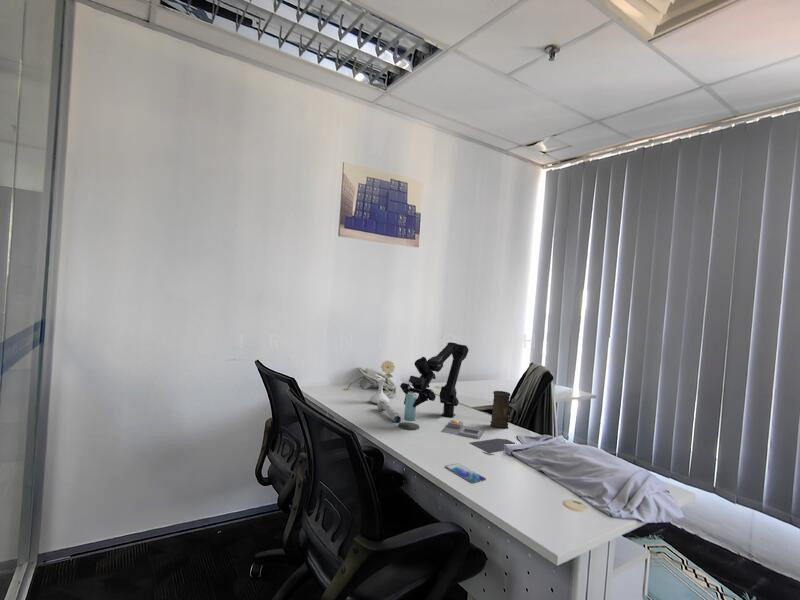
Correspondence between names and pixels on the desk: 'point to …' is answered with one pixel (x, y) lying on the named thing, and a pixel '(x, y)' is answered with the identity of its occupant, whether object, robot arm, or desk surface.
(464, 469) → the smartphone
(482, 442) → the notebook
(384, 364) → the flower in vase
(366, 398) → the desk surface
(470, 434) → the housing
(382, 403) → the white tube
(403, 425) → the pad
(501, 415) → the container
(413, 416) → the cartridge
